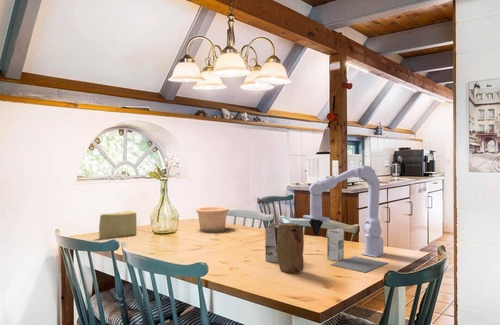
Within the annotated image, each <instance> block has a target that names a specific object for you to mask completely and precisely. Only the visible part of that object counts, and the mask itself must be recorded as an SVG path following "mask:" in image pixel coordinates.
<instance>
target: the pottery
mask: <svg viewBox="0 0 500 325" xmlns="http://www.w3.org/2000/svg"><path fill="white" fill-rule="evenodd" d="M195 212H196V213H197V216H198V223H199V230H200V231H201V232H204V233H217V232H218V231H219V232H223V231H225V230H226V222H227V221H226V220H227V213H228V212H229V208H228V207H225V206H224V207H223V206H204V207H197V208H196V209H195Z"/></svg>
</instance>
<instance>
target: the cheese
mask: <svg viewBox="0 0 500 325" xmlns="http://www.w3.org/2000/svg"><path fill="white" fill-rule="evenodd" d="M98 227H99V228H98V230H99V232H98V235H99V236H98V237H99V239H100V240H104V239H105V240H106V239H113V238H114V239H115V238H120V237H131V236H136V235H137V212H136V211H132V210H129V211H120V212H113V213H112V212H111V213H102V214H101V215H100V217H99V225H98Z"/></svg>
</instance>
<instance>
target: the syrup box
mask: <svg viewBox="0 0 500 325" xmlns="http://www.w3.org/2000/svg"><path fill="white" fill-rule="evenodd" d="M344 236H345V229H344V228H341V227H332V228H327V242H326V243H327V246H326V247H327V249H326V251H327V253H326V254H327V257H326V258H327V260H329V261H334V262H335V261H336V262H339V261H342V260H345V259H344V257H345V255H344V254H345V253H344V250H345V249H344V247H345V246H344V245H345V244H344V242H345V237H344Z"/></svg>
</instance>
